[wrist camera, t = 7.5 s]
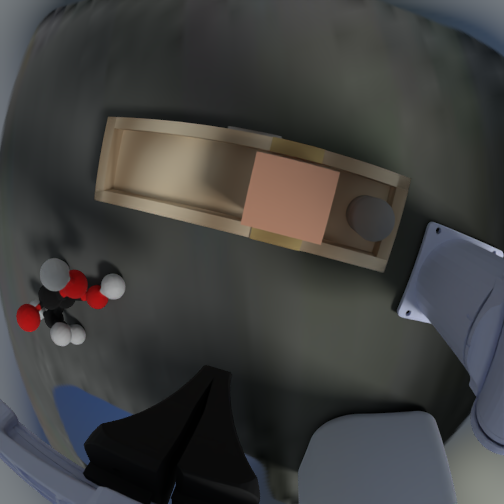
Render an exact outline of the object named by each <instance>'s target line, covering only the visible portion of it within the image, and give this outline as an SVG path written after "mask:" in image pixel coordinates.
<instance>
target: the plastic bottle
mask: <svg viewBox="0 0 504 504" xmlns="http://www.w3.org/2000/svg"><path fill="white" fill-rule="evenodd" d="M298 487H299V504H457V499H456V494H455V489H454V485H453V480H452V476H451V472H450V468H449V464H448V460H447V456H446V453H445V450H444V446H443V442H442V439H441V436H440V433H439V429H438V426H437V423H436V421H435V419H434V417H433V416H432V415H430V414H429V413H427V412H423V411H408V412H395V413H375V414H350V415H345V416H341V417H338V418H335V419H332V420H330V421H328V422H326V423H325V424H323V425H322V426H321V427H319V428H318V429H317V430H316V431H315V433H314V434H313V436H312V437H311V440H310V442H309V445H308V448H307V450H306V453H305V455H304V458H303V460H302V463H301V465H300V467H299V470H298Z"/></svg>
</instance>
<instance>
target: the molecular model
mask: <svg viewBox="0 0 504 504" xmlns="http://www.w3.org/2000/svg"><path fill="white" fill-rule="evenodd" d="M40 279H41V282H42V284H43V286H42V287H41V288H40V290H39V294H38V295H39V301H38V300H34V301H32V302H30V304H24V305H22V306H21V307H20V308H19V309H18V311H17V316H16V317H17V322H18V324H19V326H20V327H21V328H22V329H23V330H25V331H28V332H32V331H35V330H36V329H37V328H38V326H39V324H40V320H42V319H43V318H44V320H45V323H46V325H47V326H48V327H49V328H51V333H50V334H51V338H52V340H53V341H54V343H56V344H57V345H60V346H65V345H67V344H69V343H70V342H72V343H73V344H77V345H78V344H81V343H83V342H84V340H85V338H86V333H85V330H84V328H83V327H82V326H80V325H78V324H73V325H71V326H69V325H68V324H67V323H65V322H64V317H63V314H62V312H63V310H64V309H66V308H69V307H71V306H72V305H73V304H74V302H75V300H79V301H87V303H88V304H89V305H90V306H91V307H92V308H94V309H101V308H103V307H105V305H106V304H107V302H108V298H109V299H118V298H120V297H121V296H122V295H123V294H124V291H125V282H124V280H123V278H122V277H121V276H119V275H118V274H108V275H106V276H105V277H104V278H103V280H102V282H101V286H100V285H94V286H91V287H90V288H89V289H88V291H87V287H88V282H87V279H86V277H85V275H84V274H83V273H82V272H81V271H78V270H69V267H68V265H67V264H66V263H65V262H64V261H62V260H60V259H57V258H51V259H48V260H47V261H46V262H44V264H43V265H42V267H41V270H40ZM86 291H87V292H86ZM45 308H46V309H48V310H47V311H45Z"/></svg>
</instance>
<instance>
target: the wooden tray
mask: <svg viewBox="0 0 504 504" xmlns="http://www.w3.org/2000/svg"><path fill="white" fill-rule="evenodd" d="M257 152H262V153H266V154H271V155H275V156H280V157H284V158H288V159H292V160H296V161H300V162H304V163H308V164H312V165H315V166H319V167H323V168H326V169H330V170H333V171H337V172H340V174H339V179H338V183H337V187H336V191H335V195H334V198H333V202H332V206H331V210H330V214H329V217H328V221H327V225H326V228H325V232H324V235H323V239H322V243H321V245H319V244H315V243H311V242H307V241H304V240H300V239H296V238H292V237H288V236H284V235H280V234H277V233H273V232H269V231H265V230H261V229H257V228H253V227H249V226H245V225H241V219H242V215H243V210H244V206H245V201H246V197H247V192H248V188H249V184H250V179H251V175H252V170H253V166H254V162H255V157H256V153H257ZM410 181H411V178H408V177H405V176H403V175H400V174H397V173H395V172H392V171H389V170H386V169H384V168H381V167H378V166H375V165H372V164H369V163H366V162H363V161H360V160H357V159H353V158H350V157H347V156H344V155H340V154H337V153H333V152H330V151H326V150H325V149H321V148H317V147H314V146H310V145H306V144H302V143H298V142H294V141H290V140H285V139H282V136H278V135H273V134H269V133H264V132H259V131H254V130H248V129H243V128H237V127H232V126H229V127H228V129H227V128H221V127H215V126H208V125H201V124H193V123H185V122H176V121H167V120H156V119H143V118H127V117H108V120H107V124H106V129H105V133H104V138H103V143H102V149H101V154H100V160H99V167H98V173H97V180H96V188H95V197H94V200H97V201H101V202H106V203H110V204H114V205H118V206H123V207H127V208H131V209H135V210H140V211H144V212H148V213H152V214H156V215H160V216H165V217H169V218H173V219H177V220H181V221H185V222H189V223H193V224H197V225H201V226H205V227H209V228H214V229H218V230H222V231H226V232H230V233H234V234H237V235H241V236H245V237H249V238H250V239H254V240H258V241H262V242H266V243H270V244H274V245H278V246H282V247H285V248H289V249H293V250H297V251H304V252H308V253H311V254H315V255H319V256H323V257H327V258H330V259H334V260H338V261H342V262H345V263H349V264H353V265H357V266H360V267H364V268H368V269H371V270H375V271H379V272H382V273H384V270H385V267H386V265H387V262H388V259H389V256H390V253H391V250H392V247H393V243H394V240H395V237H396V234H397V230H398V227H399V223H400V220H401V216H402V213H403V209H404V205H405V202H406V198H407V194H408V190H409V185H410Z"/></svg>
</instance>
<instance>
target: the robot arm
mask: <svg viewBox="0 0 504 504" xmlns="http://www.w3.org/2000/svg"><path fill="white" fill-rule="evenodd" d="M437 228H439V232H438V233H436V229H437ZM493 251H494V252H493ZM492 252H493V253H492ZM408 310H410V311H409V313H408V314H406V312H407V311H408ZM397 314H398V315H399V316H400V317H403V318H407V319H412V320H416V321H421V322H426V323H431V324H432V325H433V326H434V327H435V329H436V330H437V331H438V332H439V334H440V335H441V336H442V337H443V339H444V340H445V341H446V343H447V344H448V345H449V346H450V348H451V349H452V350H453V352H454V353H455V354H456V356H457V357H458V358H459V360H460V361H461V363H462V364H463V365H464V367H465V368H466V369H467V371H468V372H469V374H470V383H469V386H470V387H471V389H472V391H473V392H474V394H475V395H476V397H477V398H476V400H475V402H474V404H473V406H472V409H471V416H470V419H471V426H472V430H473V432H474V435H475V436H476V438H477V439H478V441H479V442H480V443H481V444H482V445H483V446H484V447H485V448H487V449H488V450H490V451H492V452H494V453H496V454H500V455H504V258H503V252H502V251H501V250H499V249H496V248H494V247H492V246H490V245H488V244H485V243H483V242H481V241H479V240H476V239H474V238H472V237H470V236H467V235H465V234H462V233H460V232H458V231H455V230H453V229H450V228H448V227H445V226H443V225H440V224H438V223H435V222H430V223H428V225H427V228H426V231H425V234H424V238H423V241H422V244H421V247H420V250H419V253H418V256H417V259H416V262H415V265H414V268H413V270H412V273H411V276H410V279H409V281H408V284H407V286H406V289H405V292H404V294H403V297H402V299H401V301H400V304H399V306H398V309H397ZM231 377H232V374H231V373H230V372H228V371H224V370H221V369H217V368H214V367H211V366H207V365H205V366H203V367H202V369H201V370H200V371H199V372H198V373H197V374H196V375H195V376H194V377H193V378H192V379H191V380H190V381H189V382H187V383H186V384H185V385H184V386H183V387H182V388H180V389H179V390H178V391H176V392H175V393H174V394H172V395H171V396H169V397H168V398H166V399H165V400H163V401H162V402H160V403H158V404H156V405H154V406H153V407H151V408H148V409H146V410H144V411H142V412H140V413H137V414H135V415H132V416H129V417H126V418H123V419H120V420H116V421H112V422H107V423H103V424H101V425H100V426H98V427H97V429H95V430H94V431H93V432H92V434H91V435H90V436H89V438H88V439H87V440H86V442H85V443H84V447H85V451H86V453H87V455H88V457H89V460H90V463H89V464H88V466H87V467H86V469H84V468H82V467H80V466H79V465H77V464H76V463H74V462H72V461H71V460H69V459H68V458H66V457H65V456H63V455H62V454H60V453H59V452H57V451H56V450H55V449H53V448H52V447H50V446H49V445H48V444H46V443H45V442H44V441H42V440H41V439H39V438H38V437H37V436H36V435H34V434H33V433H32V432H31V431H29V430H28V429H27V428H26V427H25V426H23V425H22V424H21V423H20V422H19V421H18V419H17V416H16V415H15V413H14V412H13V411H12V410H11V409H10V408H9V407H8V406H7V405H6V404H5V403H4V402H3V401H2V400H1V399H0V458H1V459H2V460H3V461H4V462H5V463H6V464H7V465H8V466H9V467H10V468H11V469H12V470H13V471H14V472H15V473H16V474H17V475H19V476H20V477H21V478H22V479H23V480H24V481H25V482H27V483H28V484H29V485H30V486H31V487H32V488H34V489H35V490H36V491H37V492H38V493H40V494H41V495H42V496H44V497H45V498H46V499H47V500H49V501H50V502H52V503H53V504H168V502H169V499H170V496H171V493H172V491H173V488H174V485H175V482H176V487H175V489H174V491H173V494H172V496H171V499H172V504H259V501H260V492H259V491H260V490H259V485H258V480H257V477H256V475H255V473H254V472H253V470H252V468H251V466H250V465H249V463H248V461H247V459H246V457H245V454H244V452H243V449H242V447H241V444H240V442H239V439H238V436H237V433H236V429H235V425H234V421H233V415H232V409H231V400H230V382H231Z"/></svg>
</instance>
